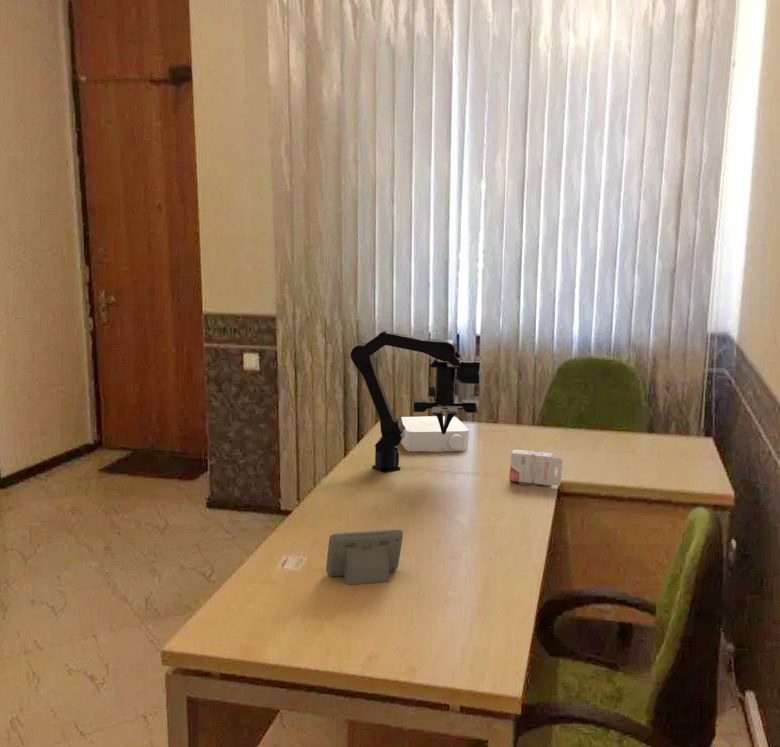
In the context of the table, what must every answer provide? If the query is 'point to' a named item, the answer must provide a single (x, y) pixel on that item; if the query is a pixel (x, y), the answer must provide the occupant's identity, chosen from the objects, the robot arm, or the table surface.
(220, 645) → the table surface
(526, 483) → the mat
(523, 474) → the ink cartridge box
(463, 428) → the projector
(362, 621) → the table surface
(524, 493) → the table surface
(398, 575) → the table surface
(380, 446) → the robot arm
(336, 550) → the digital clock
